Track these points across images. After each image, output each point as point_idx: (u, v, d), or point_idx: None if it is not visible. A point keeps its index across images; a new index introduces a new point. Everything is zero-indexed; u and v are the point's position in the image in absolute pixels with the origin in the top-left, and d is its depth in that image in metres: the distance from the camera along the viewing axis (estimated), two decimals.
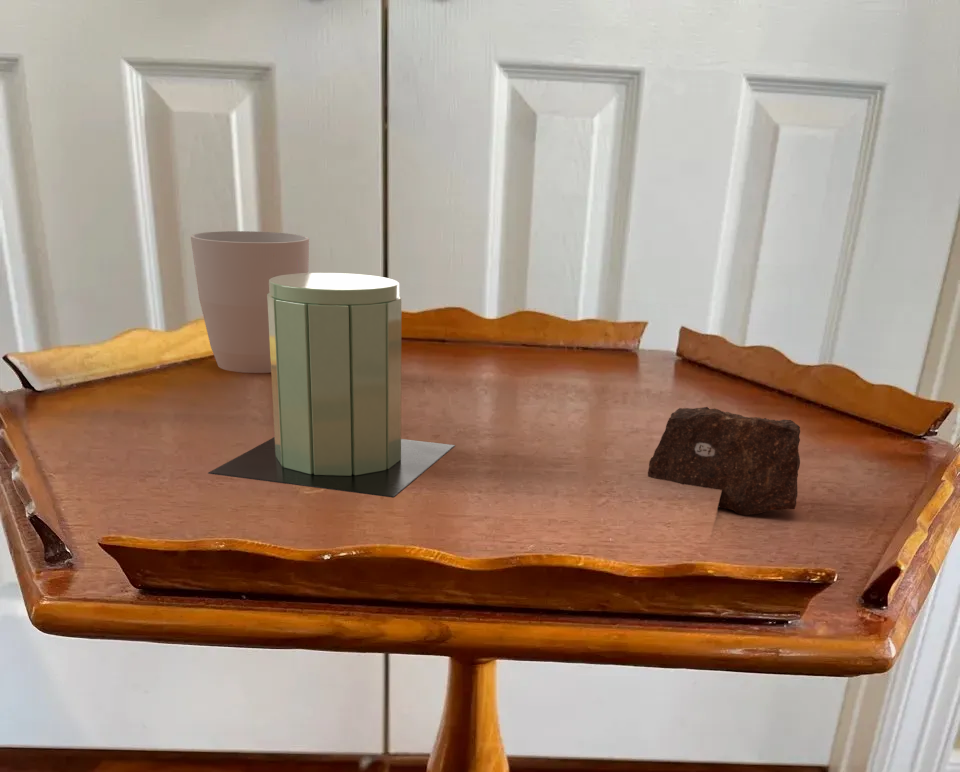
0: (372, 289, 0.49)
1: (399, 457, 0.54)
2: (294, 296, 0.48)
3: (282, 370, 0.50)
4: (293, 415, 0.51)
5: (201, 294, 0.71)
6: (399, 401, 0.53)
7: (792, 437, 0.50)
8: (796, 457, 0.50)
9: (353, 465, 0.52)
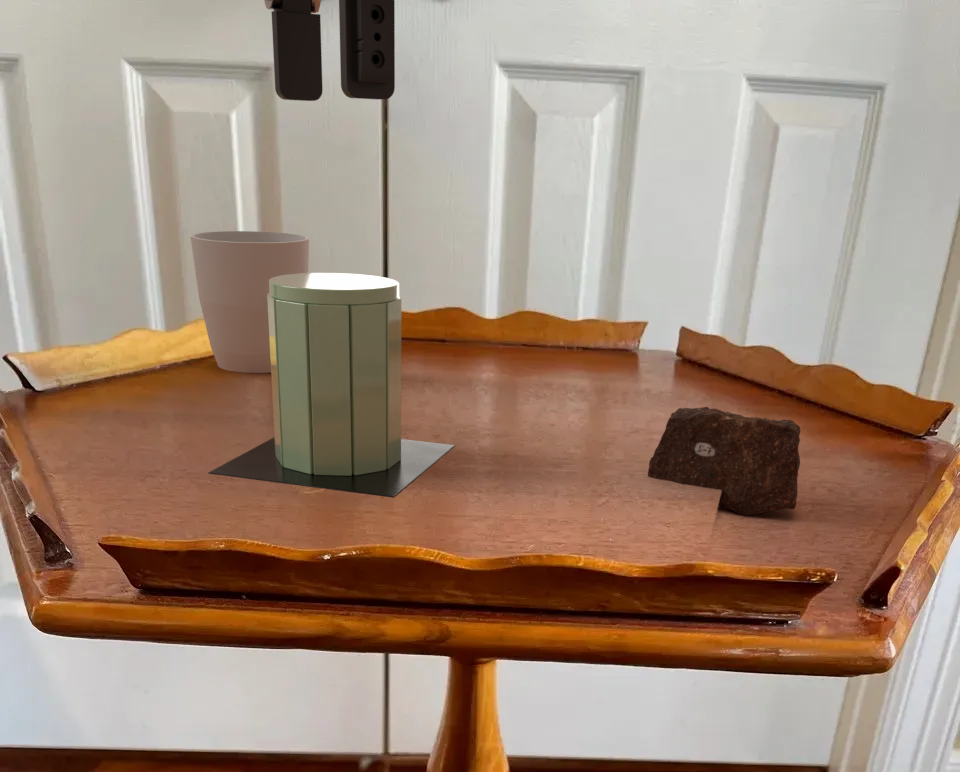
0: (372, 289, 0.49)
1: (399, 457, 0.54)
2: (294, 296, 0.48)
3: (282, 370, 0.50)
4: (293, 415, 0.51)
5: (201, 294, 0.71)
6: (399, 401, 0.53)
7: (792, 437, 0.50)
8: (796, 457, 0.50)
9: (353, 465, 0.52)
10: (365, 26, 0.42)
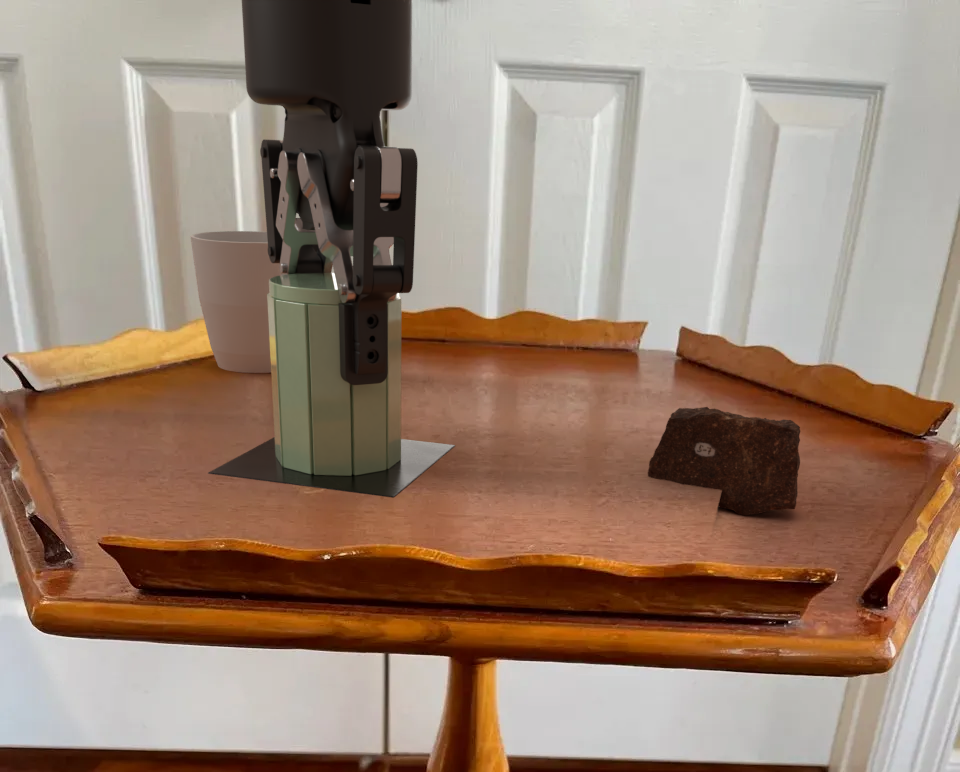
0: None
1: (399, 457, 0.54)
2: (294, 296, 0.48)
3: (282, 370, 0.50)
4: (293, 415, 0.51)
5: (201, 294, 0.71)
6: (399, 401, 0.53)
7: (792, 437, 0.50)
8: (796, 457, 0.50)
9: (353, 465, 0.52)
10: (361, 332, 0.48)
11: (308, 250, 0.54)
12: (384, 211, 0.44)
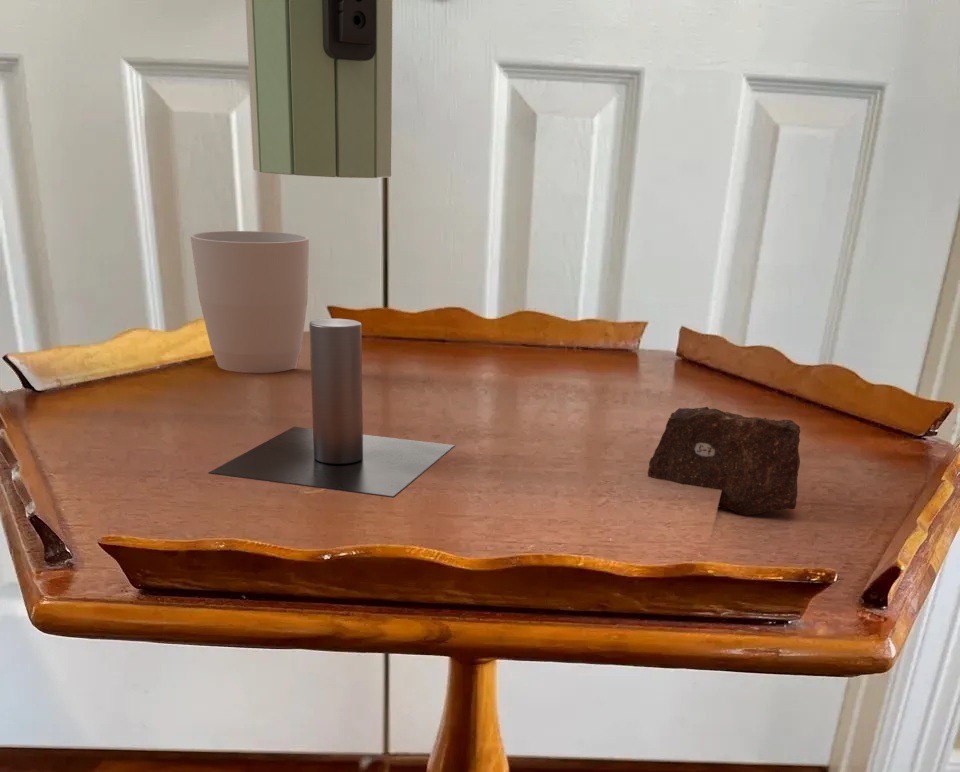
0: None
1: (389, 172, 0.50)
2: None
3: (259, 50, 0.46)
4: (271, 104, 0.46)
5: (201, 294, 0.71)
6: (389, 102, 0.48)
7: (792, 437, 0.50)
8: (796, 457, 0.50)
9: (337, 164, 0.47)
10: None
11: None
12: None
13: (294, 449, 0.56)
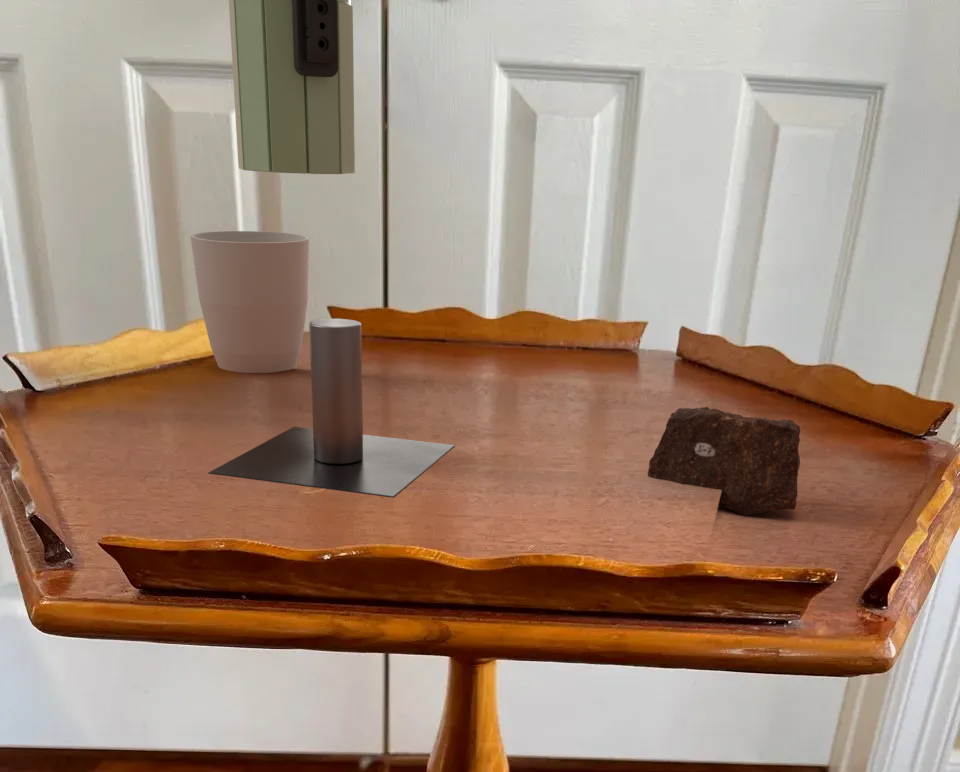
0: None
1: (353, 169, 0.59)
2: None
3: (242, 68, 0.55)
4: (252, 113, 0.55)
5: (201, 294, 0.71)
6: (352, 111, 0.58)
7: (792, 437, 0.50)
8: (796, 457, 0.50)
9: (308, 163, 0.56)
10: (312, 17, 0.52)
11: None
12: None
13: (294, 449, 0.56)
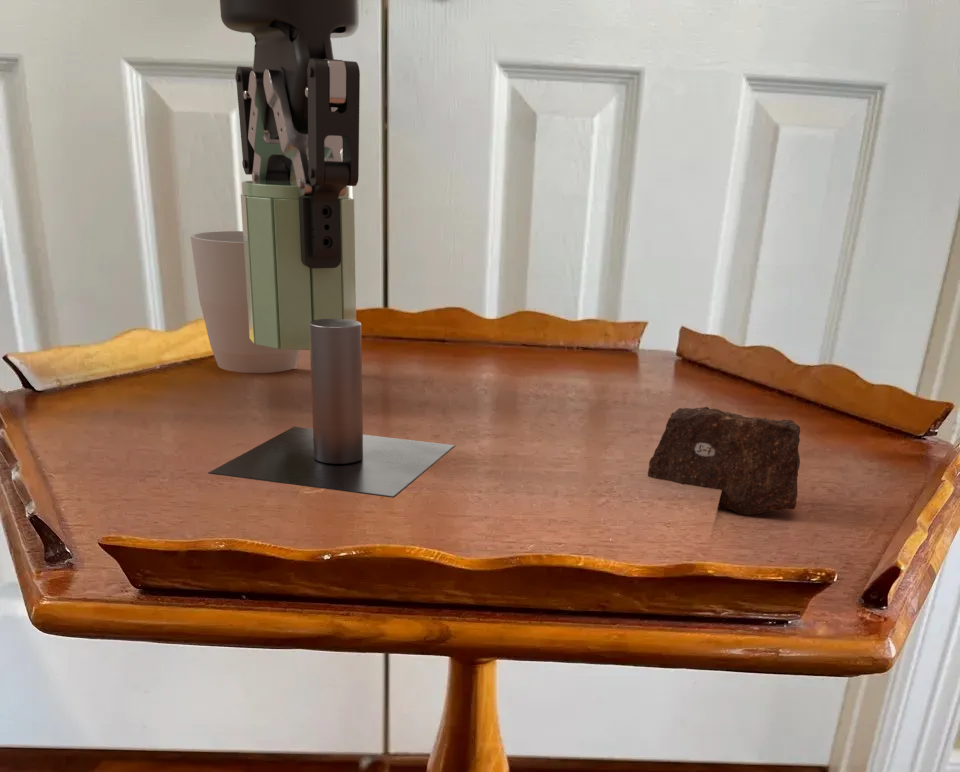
0: None
1: None
2: (262, 192, 0.58)
3: (253, 258, 0.60)
4: (263, 297, 0.61)
5: (201, 294, 0.71)
6: (354, 289, 0.63)
7: (792, 437, 0.50)
8: (796, 457, 0.50)
9: None
10: (317, 220, 0.57)
11: (276, 162, 0.63)
12: (332, 113, 0.53)
13: (294, 449, 0.56)
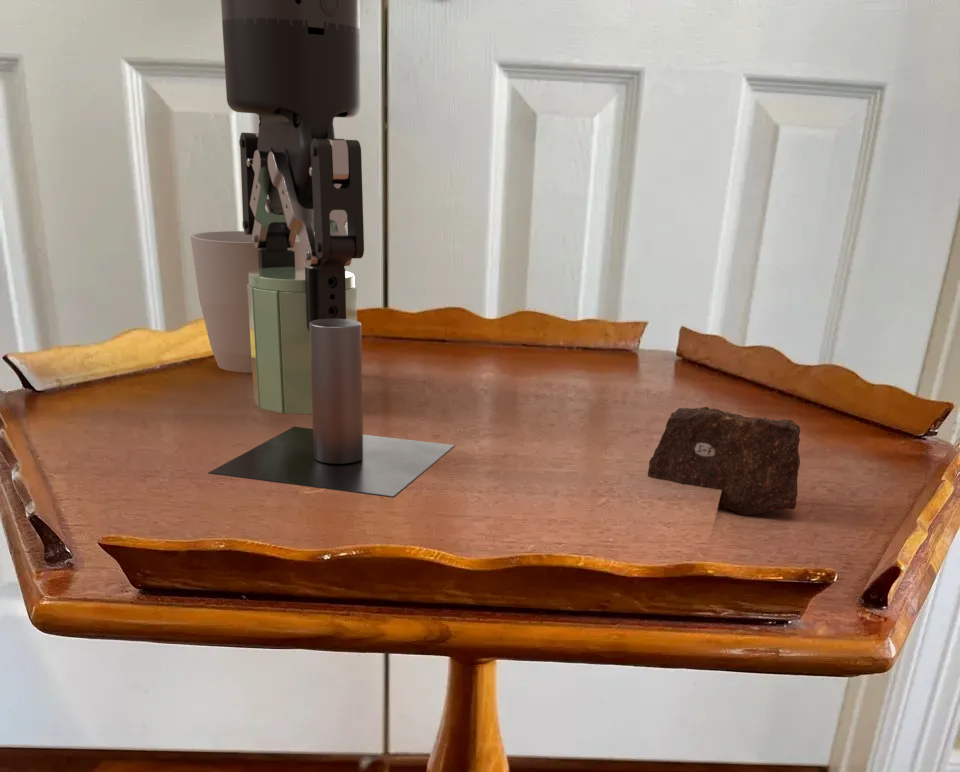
0: None
1: None
2: (268, 285, 0.60)
3: (259, 345, 0.62)
4: (268, 382, 0.63)
5: (201, 294, 0.71)
6: None
7: (792, 437, 0.50)
8: (796, 457, 0.50)
9: None
10: (323, 290, 0.58)
11: (275, 224, 0.66)
12: (336, 189, 0.55)
13: (294, 449, 0.56)
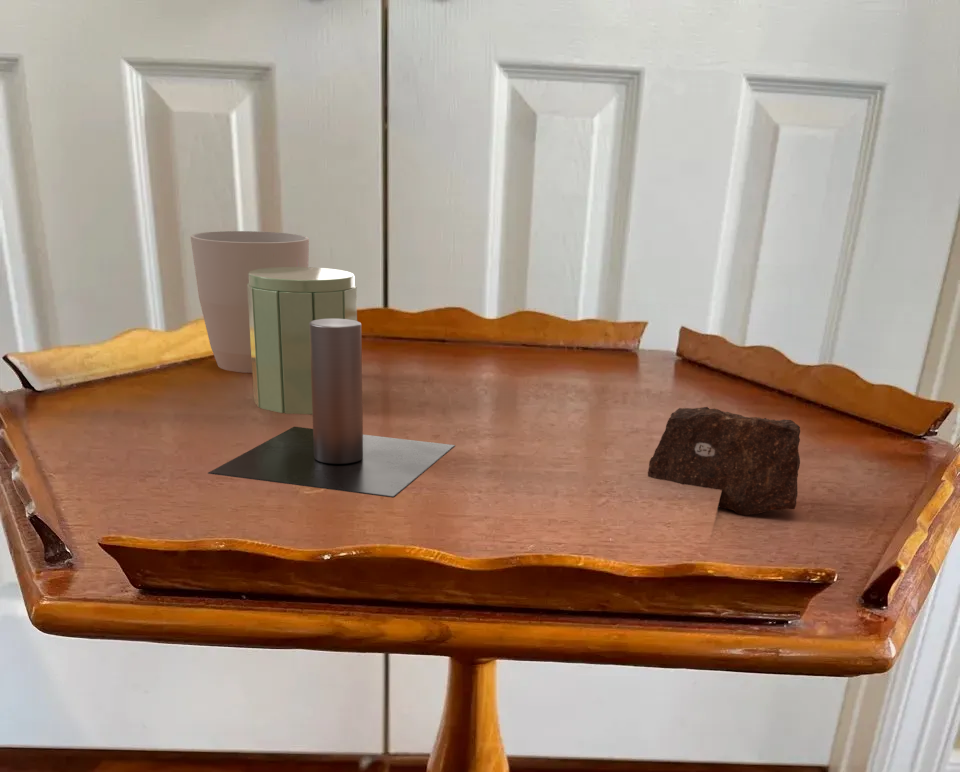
0: (331, 279, 0.60)
1: None
2: (268, 285, 0.60)
3: (259, 345, 0.62)
4: (268, 382, 0.63)
5: (201, 294, 0.71)
6: None
7: (792, 437, 0.50)
8: (796, 457, 0.50)
9: None
10: None
11: None
12: None
13: (294, 449, 0.56)
